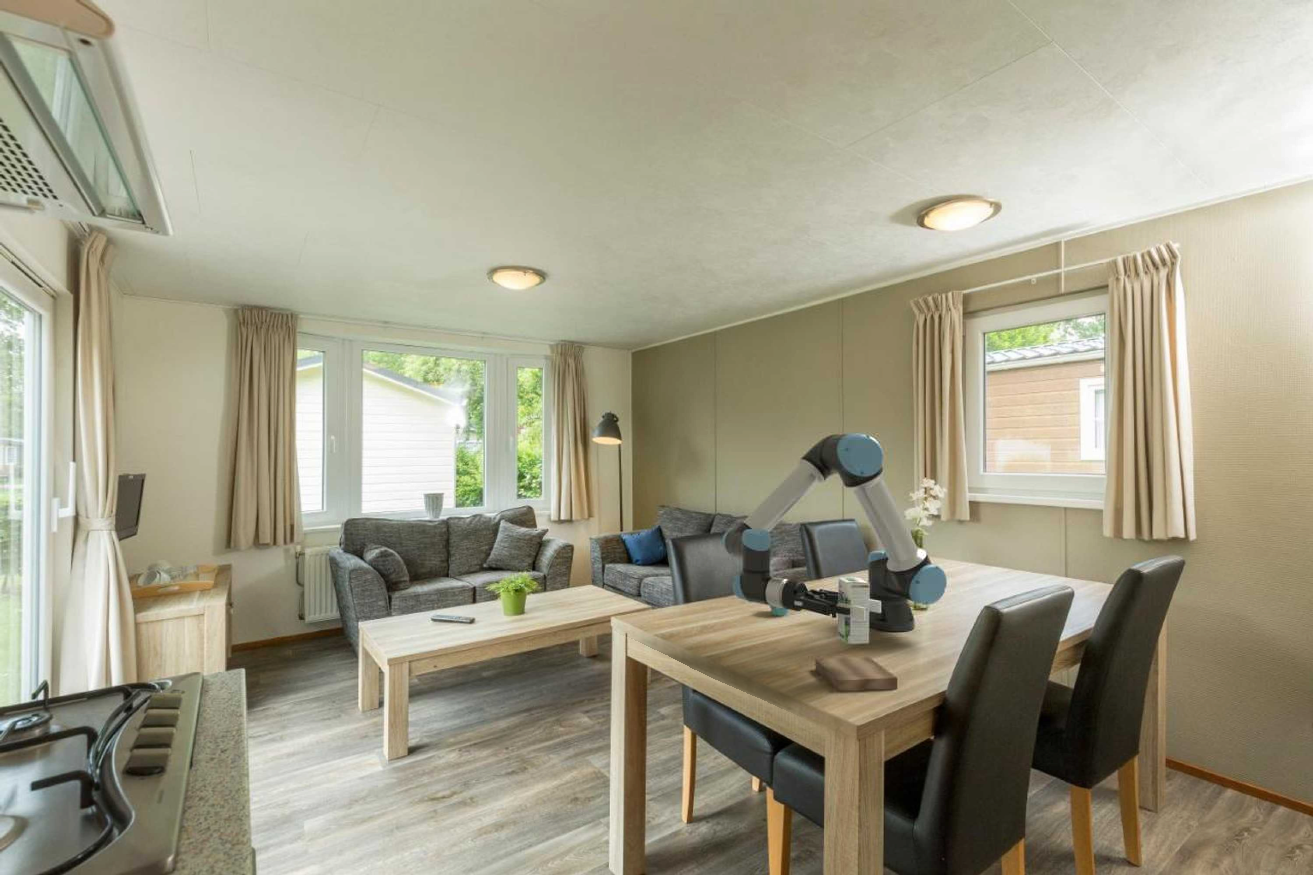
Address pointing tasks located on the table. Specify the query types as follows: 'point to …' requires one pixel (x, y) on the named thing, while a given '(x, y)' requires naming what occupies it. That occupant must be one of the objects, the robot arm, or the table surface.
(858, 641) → the syrup box
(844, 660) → the walnut board
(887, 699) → the table surface
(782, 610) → the cupcake
